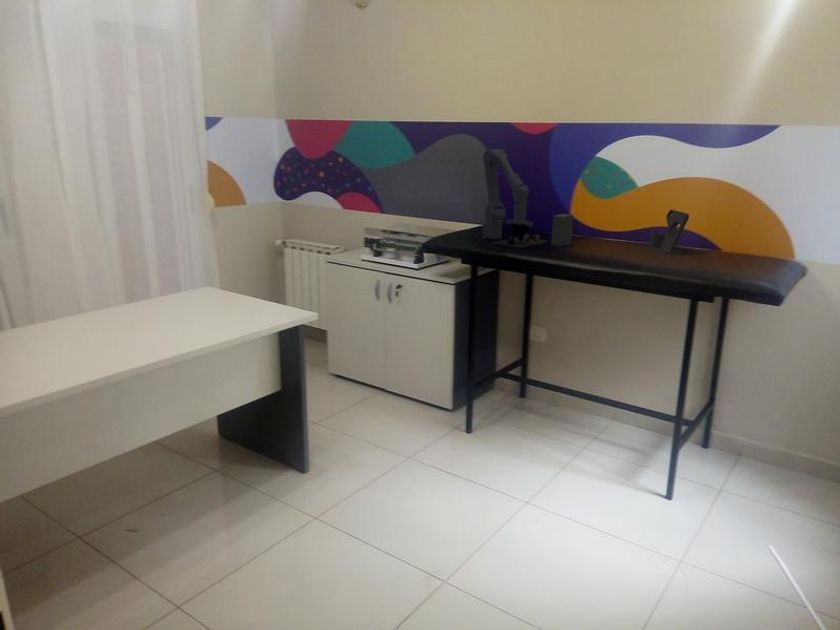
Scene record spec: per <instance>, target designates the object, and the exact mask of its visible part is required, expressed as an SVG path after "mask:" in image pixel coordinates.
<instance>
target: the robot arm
mask: <svg viewBox="0 0 840 630" xmlns="http://www.w3.org/2000/svg"><path fill="white" fill-rule="evenodd" d="M482 157H483V158H482V159H483V170H484V178H485V183H486V185H485V186H486V191H487V192H486V193H487V200H488V203H487V205H485V206H484V218H485V221H484V222H483V224H482V237H481V239H490V240H492V239H493V240H498V239H499V240H500V239H502V238H503V237H502V236H503V235H502V234H503V222H504V221H505V224H506V225H507V224H510V225H509V227H510V230H511V231H512V235H513V237H515V236H519V241H522V240H523V238H524V235H525V234H527V233H526V232H527V230H528V229H529V228H532V227H534V222H532V221H528V220H526V218H527V205H528V204H527V203H528V202H527V200H528V198H529V197H530V194H531V191H530V187H529V186H528V185H526V184H524V183H523V180H521V177H520V176H519V174H518V173H515V172H514V171H513V168H512V166H511V165H510V163H509V160H508V154H507V153H506V151H505V149H503V148H499V149H490V148H488V149H486V150H485V151H484V153H483V155H482ZM498 167H500V168H501V170H502V171H503V173H504V174H505V175H506V182H507V183H508V185H509V186H510V188H511V189H512V192H511V194H512V198H513V202H514V203H513V206H514V207H513V219H510V218H509V219H506V217H507V211H506V209H505V204H503V202H501V200H500V194H499V186H498V180H497V179H498V178H497V171H496V170H497V168H498ZM505 219H506V220H505Z"/></svg>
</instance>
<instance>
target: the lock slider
mask: <svg viewBox="0 0 840 630" xmlns="http://www.w3.org/2000/svg"><path fill="white" fill-rule="evenodd" d="M540 236H541V235H539V234H533V235H532V236H531V239H532V240H535V241H537V240H541V239H540Z"/></svg>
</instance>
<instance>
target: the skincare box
mask: <svg viewBox="0 0 840 630" xmlns="http://www.w3.org/2000/svg"><path fill="white" fill-rule="evenodd" d="M573 220H574V215H573V214H567V213H561V214H557V215H556V214H555V215H553V216H552V227H551V228H552V231H551V245H553V246H558V247H563V246H568V245H572V237H573V235H572V233H573V223H574V221H573Z"/></svg>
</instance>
